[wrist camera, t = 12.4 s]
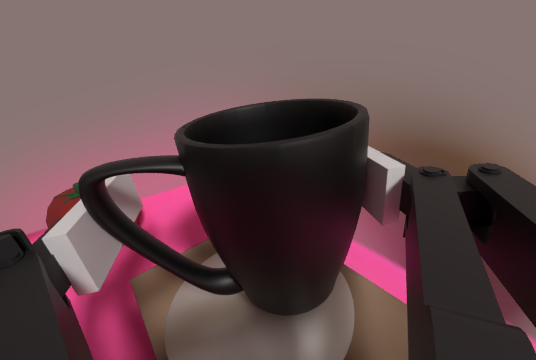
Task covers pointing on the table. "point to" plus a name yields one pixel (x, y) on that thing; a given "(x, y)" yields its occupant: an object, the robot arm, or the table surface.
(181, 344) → the wooden coaster block
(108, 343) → the table surface
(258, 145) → the mug
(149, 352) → the table surface
